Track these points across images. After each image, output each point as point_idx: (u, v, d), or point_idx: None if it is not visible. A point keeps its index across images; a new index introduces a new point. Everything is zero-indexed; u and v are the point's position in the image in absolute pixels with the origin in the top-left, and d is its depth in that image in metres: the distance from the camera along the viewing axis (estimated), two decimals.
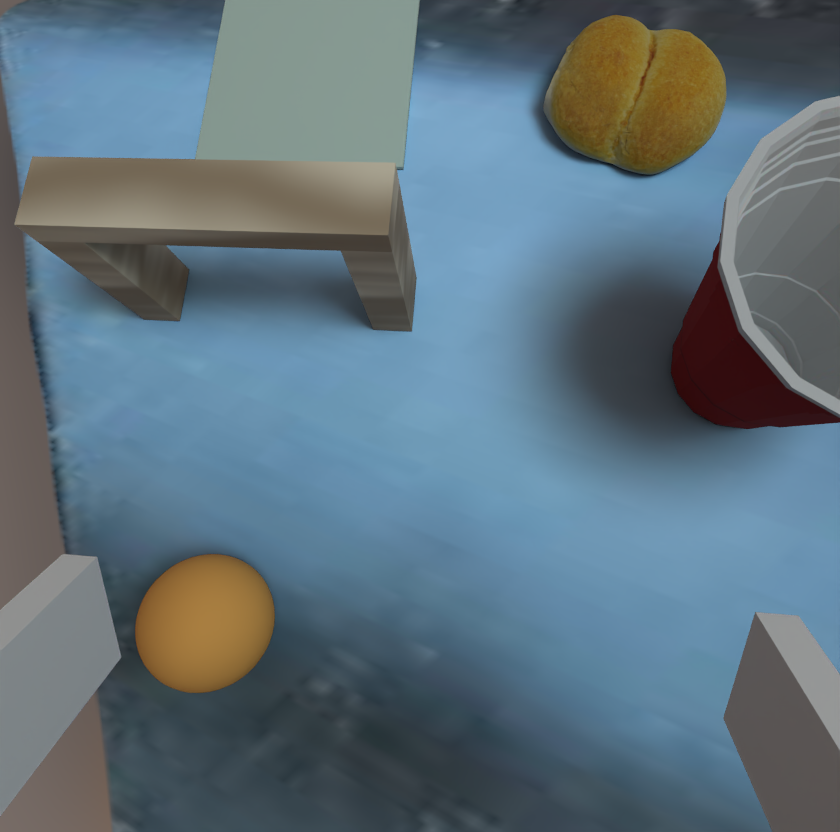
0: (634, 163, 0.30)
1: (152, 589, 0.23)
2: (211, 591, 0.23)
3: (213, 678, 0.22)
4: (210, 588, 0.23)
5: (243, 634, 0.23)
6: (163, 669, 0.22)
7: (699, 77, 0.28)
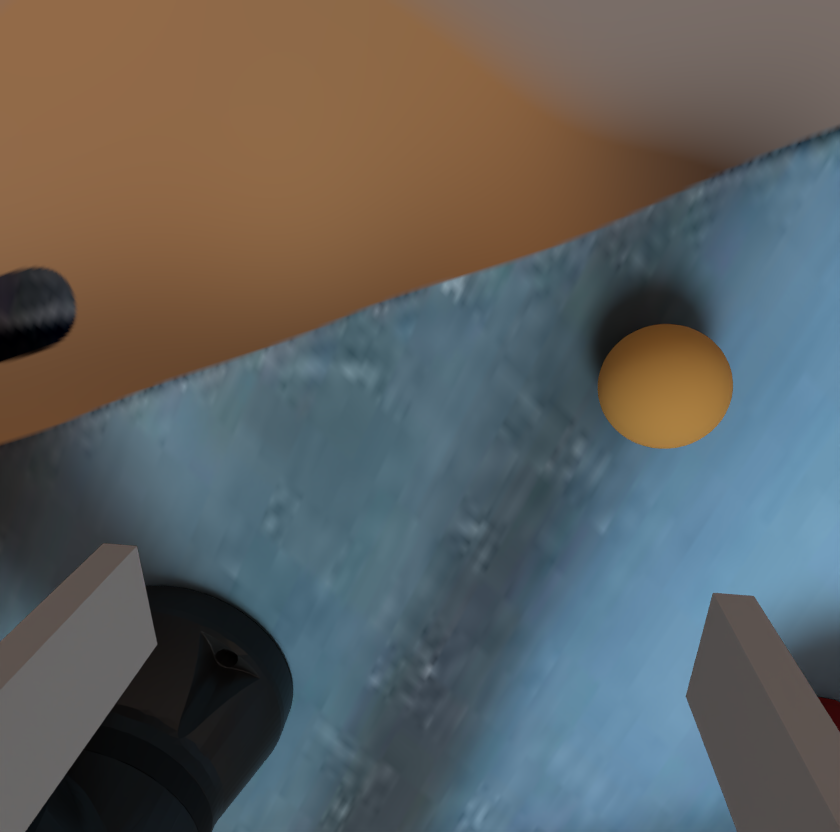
0: None
1: (713, 361, 0.23)
2: (708, 426, 0.24)
3: (623, 425, 0.25)
4: (711, 424, 0.24)
5: (660, 446, 0.25)
6: (639, 391, 0.24)
7: None
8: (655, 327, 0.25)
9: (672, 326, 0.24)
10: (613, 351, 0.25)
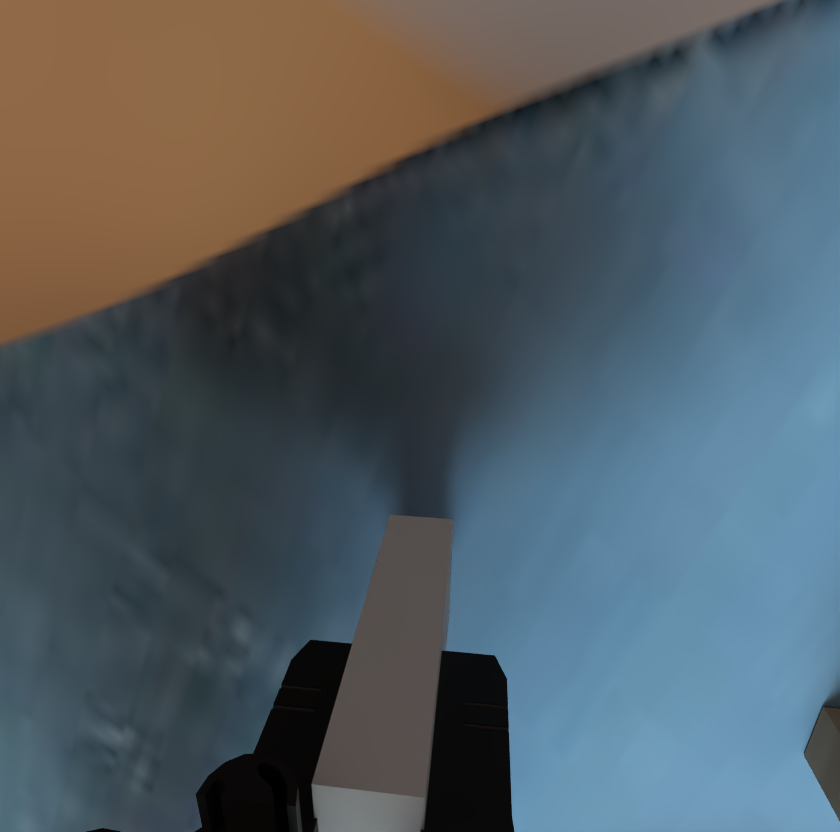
0: None
1: None
2: None
3: None
4: None
5: None
6: None
7: None
8: None
9: None
10: None
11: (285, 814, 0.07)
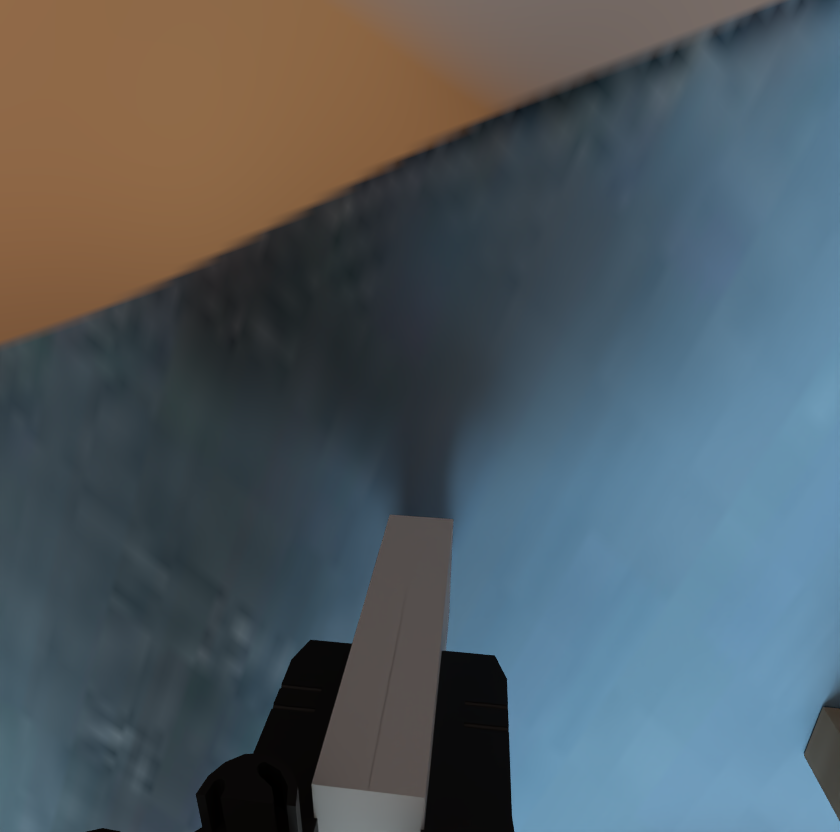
0: None
1: None
2: None
3: None
4: None
5: None
6: None
7: None
8: None
9: None
10: None
11: (285, 814, 0.07)
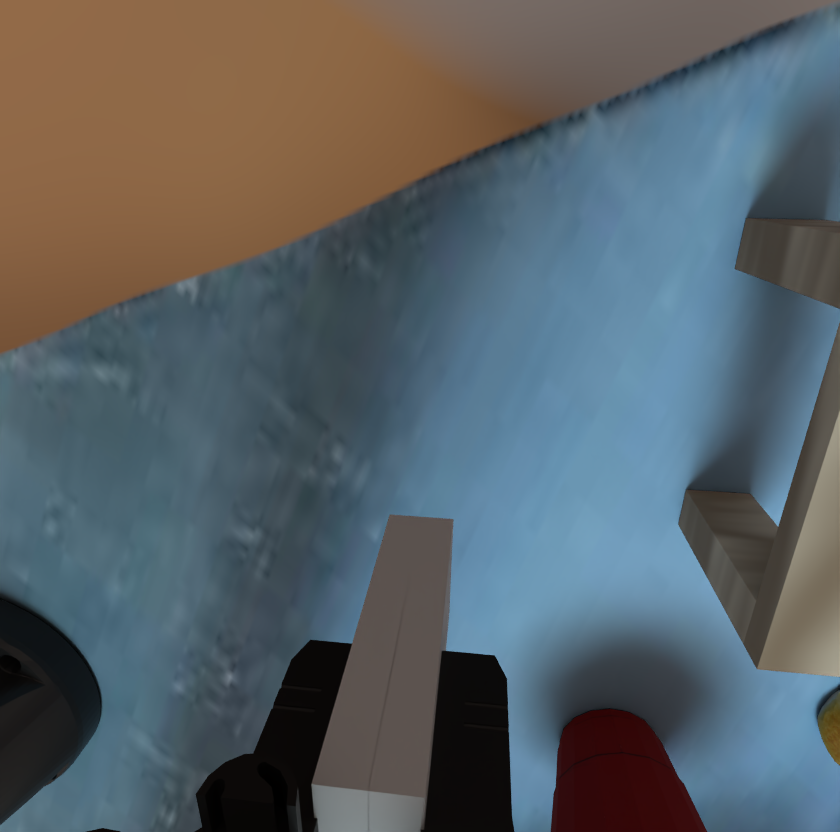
0: (831, 715, 0.31)
1: None
2: None
3: None
4: None
5: None
6: None
7: None
8: None
9: None
10: None
11: (285, 814, 0.07)
